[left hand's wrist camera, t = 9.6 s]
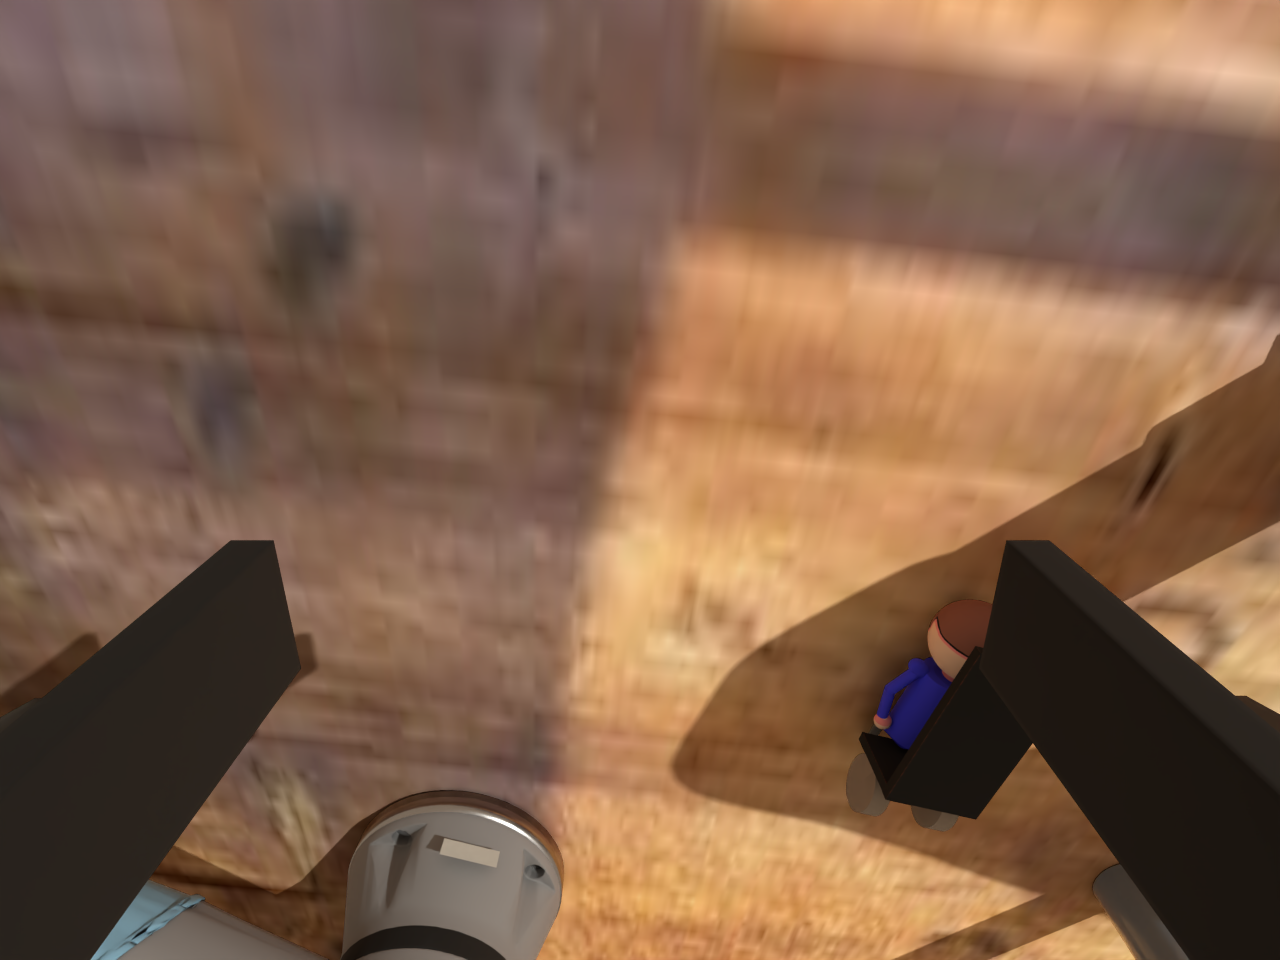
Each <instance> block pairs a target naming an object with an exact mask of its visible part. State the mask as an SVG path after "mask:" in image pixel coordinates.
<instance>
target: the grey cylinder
mask: <svg viewBox="0 0 1280 960" xmlns="http://www.w3.org/2000/svg"><path fill="white" fill-rule="evenodd" d="M1093 893H1094V895H1095V897H1096V898H1097V900H1098V902H1099V903H1100V905H1101V906H1102V908H1103V909H1104V911H1105V913H1106V914H1107V916H1108V917H1109V919H1110V920H1111V922H1112V924H1113V925H1114V927H1115V928H1116V930H1117V931H1118V933H1119V934H1120V936H1121V938H1122V939H1123V941H1124V942H1125V944H1126V945H1127V947H1128V949H1129V950H1130V952H1131V953H1132V955H1133V956H1134V958H1135V960H1189V959H1188V957H1187V956H1186V954H1185V953H1184V952H1183V950H1182V949H1181V947H1180V946H1179V945H1178V943H1177V942H1176V941H1175V939H1174V938H1173V936H1172V935H1171V934H1170V932H1169V931H1168V929H1167V928H1166V927H1165V925H1164V924H1163V923H1162V921H1161V920H1160V918H1159V917H1158V916H1157V914H1156V913H1155V911H1154V910H1153V909H1152V907H1151V906H1150V905H1149V903H1148V902H1147V900H1146V899H1145V898H1144V896H1143V895H1142V893H1141V892H1140V891H1139V889H1138V888H1137V886H1136V885H1135V884H1134V882H1133V881H1132V880H1131V878H1130V877H1129V875H1128V874H1127V873H1126V871H1125V870H1124V868H1123V867H1122V866H1121V864H1118V865H1115V866H1112V867H1110V868H1108V869H1106V870H1105V871H1103V872H1102V873H1101V874H1100V875H1099V876H1098V877H1097V878H1096V880H1095V881H1094V884H1093Z"/></svg>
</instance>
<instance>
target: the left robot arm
mask: <svg viewBox="0 0 1280 960" xmlns="http://www.w3.org/2000/svg"><path fill="white" fill-rule="evenodd" d="M300 669H301V666H300V661H299V656H298V652H297V647H296V642H295V638H294V633H293V628H292V624H291V619H290V615H289V610H288V605H287V601H286V596H285V591H284V587H283V582H282V577H281V573H280V568H279V563H278V559H277V554H276V550H275V545H274V540H231V541H230V542H228V543H227V544H226V545H225V546H224V547H222V548H221V549H220V550H219V551H218V552H216V553H215V554H214V555H213V556H212V557H210V558H209V559H208V560H207V561H206V562H204V563H203V564H202V565H201V566H200V567H198V568H197V569H196V570H195V571H194V572H192V573H191V574H190V575H189V576H188V577H186V578H185V579H184V580H183V581H182V582H180V583H179V584H178V585H177V586H176V587H175V588H173V589H172V590H171V591H170V592H169V593H167V594H166V595H165V596H164V597H163V598H161V599H160V600H159V601H158V602H157V603H155V604H154V605H153V606H152V607H151V608H149V609H148V610H147V611H146V612H145V613H143V614H142V615H141V616H140V617H139V618H137V619H136V620H135V621H134V622H133V623H131V624H130V625H129V626H128V627H127V628H125V629H124V630H123V631H122V632H121V633H119V634H118V635H117V636H116V637H115V638H113V639H112V640H111V641H110V642H109V643H108V644H106V645H105V646H104V647H103V648H102V649H100V650H99V651H98V652H97V653H96V654H94V655H93V656H92V657H91V658H90V659H88V660H87V661H86V662H85V663H84V664H82V665H81V666H80V667H79V668H78V669H76V670H75V671H74V672H73V673H72V674H70V675H69V676H68V677H67V678H66V679H64V680H63V681H62V682H61V683H60V684H58V685H57V686H56V687H55V688H54V689H52V690H51V691H50V692H49V693H48V694H46V695H45V696H44V697H43V698H35V699H33V700H31V701H29V702H27V703H26V704H24V705H22V706H20V707H18V708H16V709H15V710H13V711H11V712H9V713H7V714H6V715H4V716H2V717H0V960H329V959H327V958H325V957H323V956H321V955H318V954H316V953H314V952H312V951H310V950H307V949H305V948H303V947H301V946H299V945H297V944H294V943H292V942H290V941H288V940H286V939H283V938H281V937H279V936H277V935H275V934H273V933H270V932H268V931H266V930H264V929H262V928H259V927H257V926H255V925H253V924H251V923H249V922H246V921H244V920H242V919H240V918H238V917H236V916H234V915H232V914H230V913H228V912H226V911H224V910H222V909H219V908H217V907H215V906H213V905H211V904H209V903H207V902H205V897H203V896H201V895H199V894H194V895H188V894H186V893H183V892H180V891H178V890H175V889H172V888H170V887H167V886H164V885H162V884H159V883H156V882H154V881H151V880H149V878H150V877H151V875H152V874H153V873H154V871H155V870H156V868H157V867H158V866H159V864H160V863H161V862H162V860H163V859H164V857H165V856H166V855H167V853H168V852H169V850H170V849H171V848H172V846H173V845H174V844H175V842H176V841H177V839H178V838H179V837H180V835H181V834H182V832H183V831H184V830H185V828H186V827H187V826H188V824H189V823H190V821H191V820H192V819H193V817H194V816H195V814H196V813H197V812H198V810H199V809H200V808H201V806H202V805H203V803H204V802H205V801H206V799H207V798H208V796H209V795H210V794H211V792H212V791H213V789H214V788H215V787H216V785H217V784H218V783H219V781H220V780H221V778H222V777H223V776H224V774H225V773H226V771H227V770H228V769H229V767H230V766H231V765H232V763H233V762H234V760H235V759H236V758H237V756H238V755H239V753H240V752H241V751H242V749H243V748H244V747H245V745H246V744H247V742H248V741H249V740H250V738H251V737H252V735H253V734H254V733H255V731H256V730H257V729H258V727H259V726H260V724H261V723H262V722H263V720H264V719H265V717H266V716H267V715H268V713H269V712H270V710H271V709H272V708H273V706H274V705H275V704H276V702H277V701H278V699H279V698H280V697H281V695H282V694H283V692H284V691H285V690H286V688H287V687H288V686H289V684H290V683H291V681H292V680H293V679H294V677H295V676H296V674H297V673H298V672H299V670H300ZM979 669H980V670H981V672H982V673H983V674H984V676H985V677H986V679H987V680H988V681H989V683H990V684H991V686H992V687H993V688H994V690H995V691H996V692H997V694H998V695H999V697H1000V698H1001V699H1002V701H1003V702H1004V704H1005V705H1006V706H1007V708H1008V709H1009V710H1010V712H1011V713H1012V715H1013V716H1014V717H1015V719H1016V720H1017V722H1018V723H1019V724H1020V726H1021V727H1022V729H1023V730H1024V731H1025V733H1026V734H1027V735H1028V737H1029V738H1030V740H1031V741H1032V742H1033V744H1034V745H1035V747H1036V748H1037V749H1038V751H1039V752H1040V753H1041V755H1042V756H1043V758H1044V759H1045V760H1046V762H1047V763H1048V765H1049V766H1050V767H1051V769H1052V770H1053V771H1054V773H1055V774H1056V776H1057V777H1058V778H1059V780H1060V781H1061V783H1062V784H1063V785H1064V787H1065V788H1066V789H1067V791H1068V792H1069V794H1070V795H1071V796H1072V798H1073V799H1074V801H1075V802H1076V803H1077V805H1078V806H1079V808H1080V809H1081V810H1082V812H1083V813H1084V814H1085V816H1086V817H1087V819H1088V820H1089V821H1090V823H1091V824H1092V826H1093V827H1094V828H1095V830H1096V831H1097V832H1098V834H1099V835H1100V837H1101V838H1102V839H1103V841H1104V842H1105V844H1106V845H1107V846H1108V848H1109V849H1110V850H1111V852H1112V853H1113V855H1114V856H1115V857H1116V859H1117V860H1118V862H1119V863H1120V864H1121V866H1122V867H1123V868H1124V870H1125V871H1126V873H1127V874H1128V875H1129V877H1130V878H1131V880H1132V881H1133V882H1134V884H1135V885H1136V886H1137V888H1138V889H1139V891H1140V892H1141V893H1142V895H1143V896H1144V898H1145V899H1146V900H1147V902H1148V903H1149V905H1150V906H1151V907H1152V909H1153V910H1154V911H1155V913H1156V914H1157V916H1158V917H1159V918H1160V920H1161V921H1162V923H1163V924H1164V925H1165V927H1166V928H1167V929H1168V931H1169V932H1170V934H1171V935H1172V936H1173V938H1174V939H1175V941H1176V942H1177V943H1178V945H1179V946H1180V947H1181V949H1182V950H1183V952H1184V953H1185V954H1186V956H1187V957H1188V959H1189V960H1280V714H1278V713H1276V712H1275V711H1273V710H1271V709H1269V708H1267V707H1265V706H1264V705H1262V704H1260V703H1258V702H1256V701H1254V700H1253V699H1251V698H1249V697H1247V696H1235V695H1234V694H1232V693H1231V692H1230V691H1229V690H1228V689H1226V688H1225V687H1224V686H1223V685H1222V684H1220V683H1219V682H1218V681H1217V680H1216V679H1214V678H1213V677H1212V676H1211V675H1210V674H1208V673H1207V672H1206V671H1205V670H1204V669H1202V668H1201V667H1200V666H1199V665H1198V664H1196V663H1195V662H1194V661H1193V660H1192V659H1190V658H1189V657H1188V656H1187V655H1186V654H1184V653H1183V652H1182V651H1181V650H1180V649H1178V648H1177V647H1176V646H1175V645H1174V644H1172V643H1171V642H1170V641H1169V640H1168V639H1167V638H1165V637H1164V636H1163V635H1162V634H1161V633H1159V632H1158V631H1157V630H1156V629H1155V628H1153V627H1152V626H1151V625H1150V624H1149V623H1147V622H1146V621H1145V620H1144V619H1143V618H1141V617H1140V616H1139V615H1138V614H1137V613H1135V612H1134V611H1133V610H1132V609H1131V608H1129V607H1128V606H1127V605H1126V604H1125V603H1123V602H1122V601H1121V600H1120V599H1119V598H1117V597H1116V596H1115V595H1114V594H1113V593H1111V592H1110V591H1109V590H1108V589H1107V588H1105V587H1104V586H1103V585H1102V584H1101V583H1100V582H1098V581H1097V580H1096V579H1095V578H1094V577H1092V576H1091V575H1090V574H1089V573H1088V572H1086V571H1085V570H1084V569H1083V568H1082V567H1080V566H1079V565H1078V564H1077V563H1076V562H1074V561H1073V560H1072V559H1071V558H1070V557H1068V556H1067V555H1066V554H1065V553H1064V552H1062V551H1061V550H1060V549H1059V548H1058V547H1056V546H1055V545H1054V544H1053V543H1052V542H1050V541H1049V540H1006V545H1005V550H1004V554H1003V559H1002V563H1001V568H1000V573H999V577H998V582H997V587H996V591H995V596H994V601H993V605H992V610H991V615H990V619H989V624H988V628H987V633H986V638H985V642H984V647H983V652H982V656H981V661H980V666H979ZM563 880H564V865H563V860H562V856H561V853H560V851H559V849H558V846H557V844H556V843H555V841H554V840H553V838H552V836H551V835H550V834H549V833H548V831H547V830H546V829H545V828H544V827H543V826H542V825H541V824H540V823H539V822H538V821H536V820H535V819H534V818H533V817H531V816H530V815H528V814H527V813H526V812H524V811H522V810H521V809H519V808H517V807H515V806H513V805H511V804H509V803H507V802H504V801H502V800H499V799H496V798H493V797H490V796H486V795H482V794H477V793H471V792H463V791H437V792H429V793H423V794H419V795H415V796H411V797H408V798H405V799H403V800H401V801H398V802H396V803H394V804H392V805H391V806H389V807H387V808H386V809H384V810H383V811H381V812H380V813H379V814H378V815H377V816H376V817H375V818H374V819H373V820H372V821H371V822H370V823H369V824H368V826H367V827H366V829H365V830H364V832H363V834H362V836H361V838H360V841H359V843H358V845H357V848H356V850H355V852H354V854H353V857H352V859H351V862H350V865H349V870H348V882H347V896H346V909H345V923H344V936H343V949H342V955H341V958H340V960H536V958H537V956H538V954H539V952H540V950H541V948H542V946H543V943H544V941H545V939H546V937H547V935H548V933H549V931H550V929H551V927H552V925H553V923H554V920H555V918H556V916H557V914H558V911H559V908H560V904H561V897H562V889H563Z"/></svg>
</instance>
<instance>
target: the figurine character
mask: <svg viewBox="0 0 1280 960" xmlns="http://www.w3.org/2000/svg"><path fill="white" fill-rule="evenodd" d="M991 610H992V604H990V603H987V602H984V601H980V600H960V601H956V602H953V603H950V604H948V605H947V606H945V607H943V608H942V609H941V610H940V611H939V612H938V613H937V614H936V615H935V616H934V618H933V619H932V621H931V623H930V626H929V629H928V647H929V650H930V653H931V655H932V657H929V658H926V659H925V660H922V659H919V658H914V659H911V660H910V661H909V663H908V667H909V669H908V670H906V671H905V672H904V673H902V674H901V675H899V676H898V677H896V678H895V679H894V680H892V681H891V682H889V683H888V684H887V685H885V688H884V691H883V694H882V698H881V701H880V704H879V708H878V711H877V714H876V715H875V716H874V725H873V726H872V728H871V730H870V731H869V733H865V732H862V734H861V736H860V738H859V741H860V743H861V745H862V747H863V750H864V752H865V753H861V754H859V755H858V756H856V757H855V759H854V760H853V762H852V764H851V766H850V768H849V771H848V775H847V782H846V793H847V799H848V803H849V805H850V807H851V808H852V810H853V811H855V812H858V813H862V814H867V815H872V816H879V815H881V814H882V813H883V812H884V811H885V810H886V808H887V806H888V804H889V802H890V801H894V802H899V803H903V804H908V805H911V809H912V813H913V816H914V818H915V820H916V822H917V823H918V824H919V825H920V826H922V827H924V828H929V829H934V830H938V831H947V830H949V829H951V828H952V827H953V826H954V824H955V823H956V821H957V819H958V817H959V816H963V817H967V818H972V819H977V817H978V816H979V815H980V813H981V812H982V811H983V809H984V808H985V807H986V805H987V804H988V803H989V801H990V800H991V799H992V797H993V796H994V795H995V793H996V792H997V790H998V789H999V788H1000V786H1001V785H1002V784H1003V782H1004V781H1005V780H1006V778H1007V777H1008V776H1009V774H1010V773H1011V772H1012V770H1013V769H1014V768H1015V766H1016V765H1017V764H1018V762H1019V761H1020V760H1021V758H1022V757H1023V756H1024V754H1025V753H1026V751H1027V750H1028V749H1029V747H1030V746H1031V745H1032V743H1033V742H1032V741H1031V740H1030V738H1029V737H1028V735H1027V734H1026V733H1025V731H1024V730H1023V729H1022V727H1021V726H1020V724H1019V723H1018V722H1017V720H1016V719H1015V717H1014V716H1013V715H1012V713H1011V712H1010V710H1009V709H1008V708H1007V706H1006V705H1005V704H1004V702H1003V701H1002V699H1001V698H1000V697H999V695H998V694H997V692H996V691H995V690H994V688H993V687H992V686H991V684H990V683H989V681H988V680H987V679H986V677H985V676H984V674H983V673H982V672H981V670H980V669H979V666H980V661H981V656H982V652H983V647H984V642H985V638H986V633H987V628H988V624H989V619H990V615H991ZM907 685H908V686H907ZM906 686H907V687H906ZM904 687H906V689H905V690H904V692H903V694H902V695H901V697H900V698H899V700H898V701H897V703H896V704H895V706H894V707H893V709H892V711H891V712H890V709H891V705H892V702H893V699H894V696H895V694H896V693H897V692H899V691H900V690H902V689H903V688H904ZM889 712H890V714H889ZM882 729H883V730H884V731H885V732H886V733H887V734H888V735H889V736H890V737H891V738H892V739H891V738H886V737H882V736H878V735H879V733H880V732H881V730H882Z"/></svg>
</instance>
